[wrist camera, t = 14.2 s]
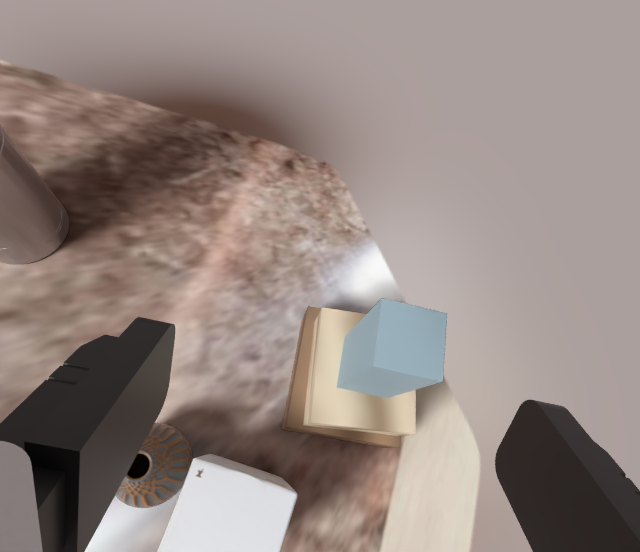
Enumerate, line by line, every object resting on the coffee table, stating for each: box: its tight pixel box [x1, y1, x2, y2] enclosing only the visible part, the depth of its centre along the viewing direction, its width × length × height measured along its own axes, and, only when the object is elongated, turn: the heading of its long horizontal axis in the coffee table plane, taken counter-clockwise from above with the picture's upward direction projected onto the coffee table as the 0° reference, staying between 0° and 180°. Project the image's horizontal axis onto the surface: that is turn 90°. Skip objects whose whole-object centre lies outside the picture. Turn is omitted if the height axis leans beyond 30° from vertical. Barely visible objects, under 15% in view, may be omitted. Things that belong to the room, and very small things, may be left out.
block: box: [337, 298, 447, 398], centre depth 31 cm, size 4×4×11 cm
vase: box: [115, 423, 192, 508], centre depth 36 cm, size 7×7×9 cm
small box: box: [157, 454, 298, 552], centre depth 34 cm, size 8×6×13 cm
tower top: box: [303, 307, 416, 436], centre depth 38 cm, size 9×10×5 cm
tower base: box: [282, 306, 401, 448], centre depth 44 cm, size 11×12×6 cm
